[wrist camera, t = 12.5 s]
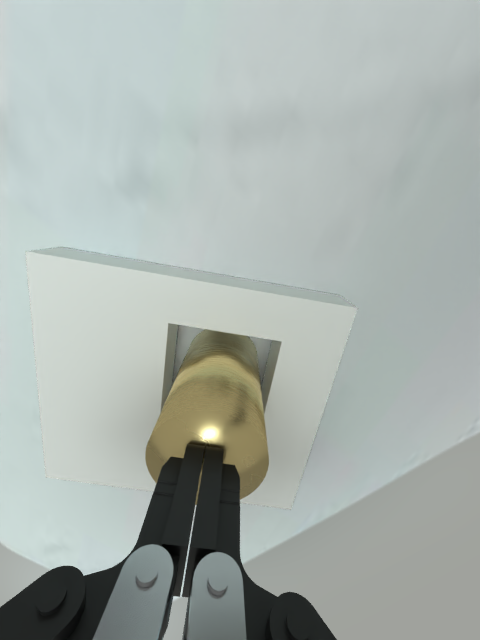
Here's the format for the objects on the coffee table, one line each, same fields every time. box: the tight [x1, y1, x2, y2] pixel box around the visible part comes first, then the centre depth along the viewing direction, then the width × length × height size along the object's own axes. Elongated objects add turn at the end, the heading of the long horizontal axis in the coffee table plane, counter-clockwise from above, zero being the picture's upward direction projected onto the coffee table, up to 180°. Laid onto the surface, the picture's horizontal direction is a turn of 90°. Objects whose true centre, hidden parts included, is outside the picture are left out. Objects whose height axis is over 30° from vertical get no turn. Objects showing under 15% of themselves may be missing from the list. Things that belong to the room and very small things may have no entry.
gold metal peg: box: [145, 329, 269, 505], centre depth 15 cm, size 5×5×9 cm
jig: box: [25, 247, 358, 510], centre depth 18 cm, size 18×16×3 cm
